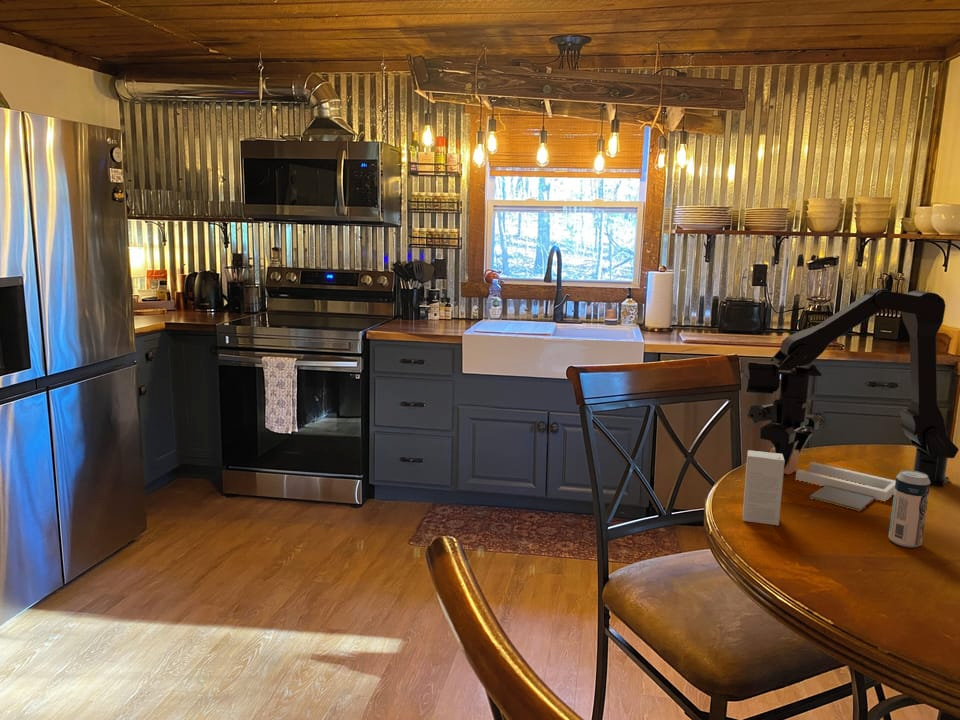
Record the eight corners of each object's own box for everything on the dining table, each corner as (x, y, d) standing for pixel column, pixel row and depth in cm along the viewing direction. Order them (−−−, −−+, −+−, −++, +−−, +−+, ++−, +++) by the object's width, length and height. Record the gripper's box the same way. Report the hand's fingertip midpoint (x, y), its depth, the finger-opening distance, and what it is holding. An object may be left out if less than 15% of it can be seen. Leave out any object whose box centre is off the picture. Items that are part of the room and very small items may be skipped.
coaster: (825, 487, 144) (826, 484, 144) (874, 499, 138) (874, 496, 138) (809, 498, 138) (810, 495, 138) (860, 511, 132) (860, 508, 131)
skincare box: (777, 517, 128) (783, 453, 126) (778, 526, 124) (785, 460, 122) (741, 512, 130) (747, 449, 128) (741, 521, 126) (747, 456, 124)
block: (776, 464, 157) (778, 445, 157) (797, 469, 154) (799, 449, 154) (767, 469, 154) (769, 449, 153) (789, 474, 151) (791, 454, 150)
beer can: (926, 550, 116) (936, 480, 113) (894, 547, 116) (903, 477, 114) (914, 538, 120) (924, 470, 118) (883, 535, 121) (892, 468, 119)
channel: (810, 470, 155) (811, 461, 154) (897, 490, 143) (898, 481, 143) (795, 480, 148) (796, 470, 148) (884, 502, 137) (886, 492, 136)
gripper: (772, 383, 163) (766, 448, 166) (737, 395, 150) (731, 466, 152) (824, 391, 156) (816, 460, 158) (791, 404, 142) (784, 479, 145)
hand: (786, 465), depth 154 cm, fingers closed on block, 4 cm apart
